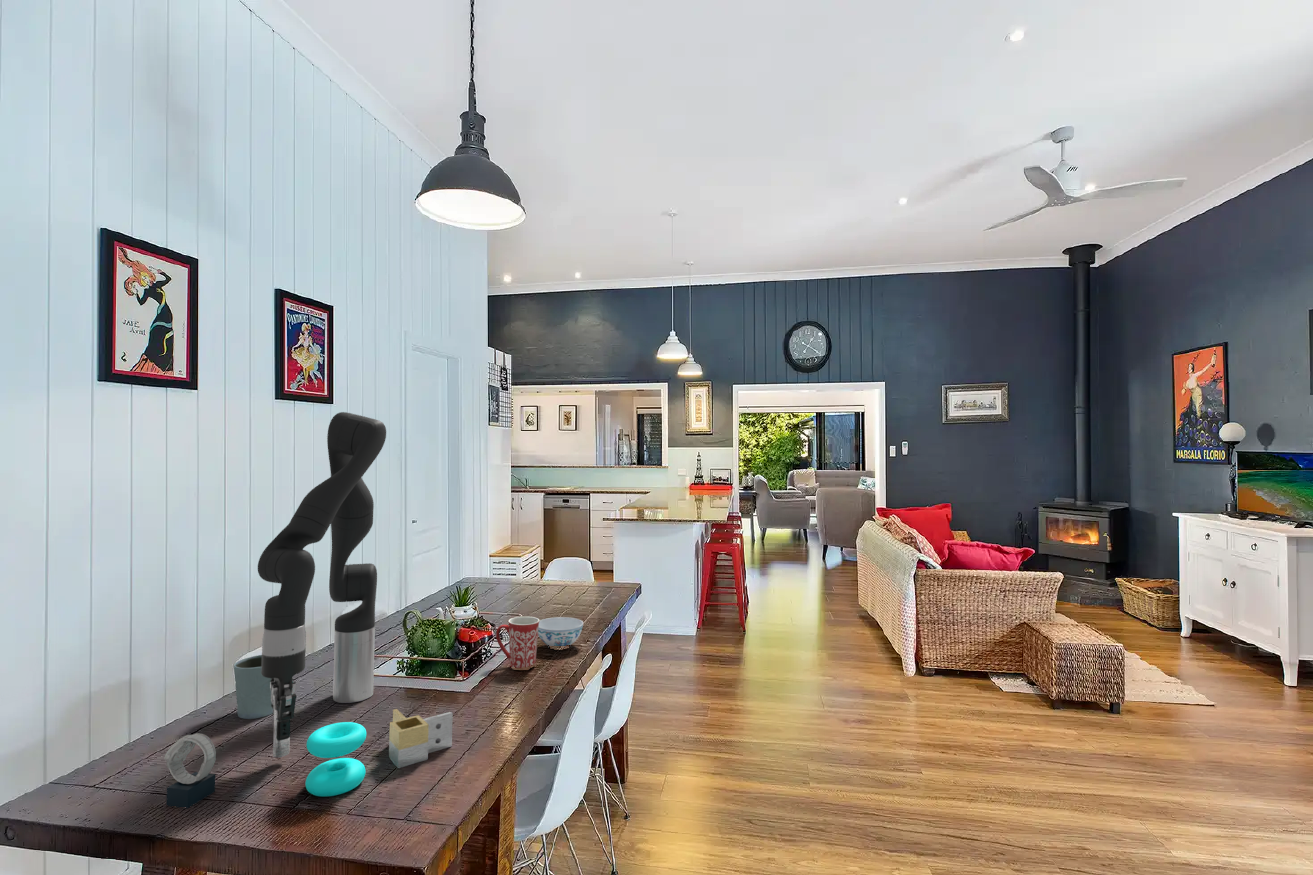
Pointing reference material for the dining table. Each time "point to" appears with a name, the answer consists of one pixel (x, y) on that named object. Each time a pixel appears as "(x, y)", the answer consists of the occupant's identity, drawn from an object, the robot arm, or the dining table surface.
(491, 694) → the dining table surface
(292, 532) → the robot arm
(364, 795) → the dining table surface
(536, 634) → the mug
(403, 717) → the bracket
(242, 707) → the embossed green planter pot
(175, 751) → the watch
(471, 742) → the dining table surface
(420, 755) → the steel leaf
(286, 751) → the hinge pin
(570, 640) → the chinaware
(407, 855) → the dining table surface
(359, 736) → the donuts
